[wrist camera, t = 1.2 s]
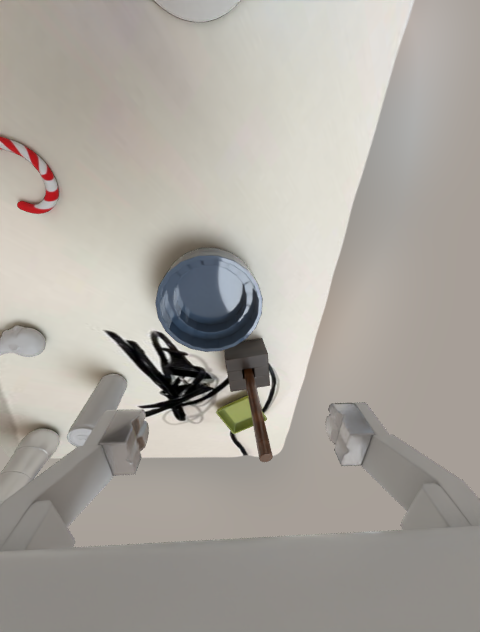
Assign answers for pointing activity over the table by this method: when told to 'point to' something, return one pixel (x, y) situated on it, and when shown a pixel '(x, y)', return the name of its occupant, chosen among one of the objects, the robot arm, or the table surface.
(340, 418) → the robot arm
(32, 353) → the smooth white sculpture
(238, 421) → the saucer
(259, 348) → the holder
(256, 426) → the stick
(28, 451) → the plastic bottle
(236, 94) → the table surface
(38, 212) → the candy cane
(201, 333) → the bowl
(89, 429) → the beverage can
